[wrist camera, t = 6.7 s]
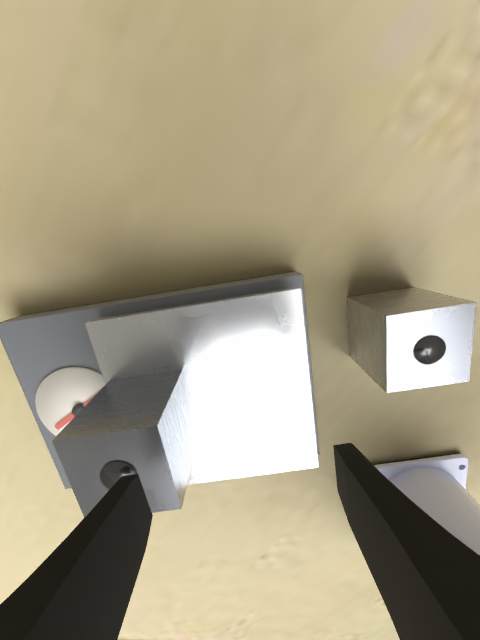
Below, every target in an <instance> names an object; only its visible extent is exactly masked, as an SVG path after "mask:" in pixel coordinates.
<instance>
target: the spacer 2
mask: <svg viewBox="0 0 480 640" xmlns="http://www.w3.org/2000/svg"><path fill="white" fill-rule="evenodd" d="M347 307H348V327H349V348H350V357H351V358H352V359H353V360H354V361H355V362H356V363H357V364H358V365H359V366H360V367H361V368H362V369H363V370H364V371H365V372H366V373H367V374H368V375H369V376H370V377H371V378H372V379H373V380H374V381H375V382H376V383H377V384H378V385H379V386H380V387H381V388H382V389H383V390H384V391H385V392H386V393H391V392H398V391H405V390H412V389H419V388H426V387H433V386H440V385H448V384H455V383H462V382H469V378H470V367H471V356H472V345H473V334H474V323H475V311H476V302H473V301H468V300H464V299H460V298H456V297H452V296H448V295H443V294H439V293H435V292H431V291H427V290H423V289H418V288H414V287H410V288H403V289H397V290H390V291H384V292H377V293H371V294H365V295H358V296H352V297H347Z"/></svg>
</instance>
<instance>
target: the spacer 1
mask: <svg viewBox="0 0 480 640" xmlns="http://www.w3.org/2000/svg"><path fill="white" fill-rule="evenodd" d="M197 435H198V430H197V426H196V422H195V418H194V414H193V409H192V405H191V401H190V397H189V393H188V389H187V385H186V381H185V377H184V372H183V369H180V370H174V371H167V372H161V373H154V374H147V375H141V376H134V377H128V378H121V379H114V380H109V381H108V382H107V383H106V385H105V386H104V387H103V388H102V389H101V390H100V391H99V392H98V393H97V394H96V395H95V396H94V397H93V398H92V399H91V400H90V401H89V402H88V403H87V404H86V405H85V407H84V408H83V409H82V410H81V411H80V412H79V413H78V414H77V415H76V416H75V417H74V418H73V419H72V420H71V421H70V422H69V423H68V424H67V425H66V426H65V427H64V429H63V430H62V431H61V432H60V433H59V434H58V435H57V436H56V437H55V438H54V439H53V440H52V443H53V445H54V447H55V450H56V452H57V454H58V457H59V459H60V461H61V464H62V466H63V468H64V471H65V473H66V475H67V478H68V480H69V482H70V485H71V487H72V489H73V492H74V494H75V496H76V499H77V501H78V503H79V506H80V508H81V510H82V513H83V515H84V517H86V516H87V515H88V513H89V512H90V511H91V510H92V509H93V508H94V507H95V506H96V504H97V503H98V502H99V501H100V500H101V499H102V498H103V497H104V495H105V494H106V493H107V492H108V491H109V490H110V489H111V488H112V486H113V485H114V484H115V483H116V482H117V481H118V480H119V479H120V478H121V477H122V476H125V475H132V474H138V475H139V478H140V481H141V483H142V486H143V489H144V492H145V495H146V498H147V501H148V504H149V507H150V509H151V512H152V513H153V512H160V511H168V510H176V509H182V504H183V499H184V495H185V490H186V486H187V481H188V476H189V472H190V467H191V462H192V458H193V453H194V448H195V444H196V439H197Z"/></svg>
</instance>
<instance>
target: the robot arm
mask: <svg viewBox="0 0 480 640" xmlns="http://www.w3.org/2000/svg"><path fill="white" fill-rule="evenodd" d="M334 456H335V467H336V477H337V488H338V493H339V496H340V498H341V501H342V504H343V507H344V510H345V513H346V516H347V519H348V522H349V524H350V527H351V529H352V531H353V533H354V536H355V538H356V540H357V542H358V545H359V547H360V549H361V551H362V554H363V556H364V558H365V560H366V562H367V565H368V567H369V569H370V571H371V574H372V576H373V578H374V580H375V582H376V585H377V587H378V589H379V591H380V594H381V596H382V598H383V600H384V602H385V605H386V607H387V609H388V611H389V614H390V616H391V619H392V621H393V623H394V626H395V628H396V631H397V633H398V636H399V638H400V640H480V505H479V503H478V502H477V501H476V500H475V499H474V498H473V497H472V496H471V495H470V494H469V493H468V492H467V491H466V481H467V470H468V458H467V457H466V456H464V455H463V454H454V455H447V456H439V457H432V458H424V459H417V460H409V461H402V462H394V463H386V464H379V465H373V464H372V463H371V462H370V461H369V460H368V459H367V458H366V457H365V456H364V455H363V454H362V453H361V452H360V451H359V450H358V449H357V448H356V447H355V446H354V445H353V444H351V443H347V444H340V445H334ZM152 516H153V515H152V512H151V509H150V507H149V504H148V501H147V498H146V495H145V492H144V489H143V486H142V483H141V481H140V478H139V475H138V474H132V475H125V476H122V477H121V478H120V479H119V480H118V481H117V482H116V483H115V484H114V485H113V486H112V488H111V489H110V490H109V491H108V492H107V493H106V494H105V495H104V497H103V498H102V499H101V500H100V501H99V502H98V503H97V504H96V506H95V507H94V508H93V509H92V510H91V511H90V512H89V513H88V515H87V516H86V517H85V518H84V519H83V520H82V521H81V522H80V523H79V525H78V526H77V527H76V528H75V529H74V530H73V531H72V532H71V533H70V535H69V536H68V537H67V538H66V539H65V540H64V541H63V542H62V543H61V544H60V545H59V546H58V547H57V548H56V549H55V550H54V551H53V552H52V554H51V555H50V556H49V557H48V558H47V559H46V560H45V561H44V562H43V563H42V564H41V565H40V566H39V567H38V568H37V569H36V570H35V571H34V572H33V573H32V574H31V575H30V576H29V577H28V578H27V579H26V580H25V581H24V582H23V583H22V584H21V585H20V586H19V587H18V588H17V589H16V590H15V591H14V592H13V593H12V594H11V595H10V596H9V597H8V598H7V599H6V600H5V601H4V602H3V603H2V604H1V605H0V640H117V638H118V635H119V632H120V629H121V626H122V623H123V620H124V617H125V613H126V610H127V607H128V604H129V601H130V598H131V595H132V591H133V588H134V585H135V582H136V579H137V576H138V573H139V569H140V566H141V563H142V560H143V556H144V553H145V550H146V545H147V541H148V536H149V531H150V526H151V521H152Z"/></svg>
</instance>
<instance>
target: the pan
mask: <svg viewBox="0 0 480 640" xmlns="http://www.w3.org/2000/svg"><path fill="white" fill-rule="evenodd" d="M85 325H86V328H87V331H88V334H89V337H90V340H91V343H92V346H93V349H94V352H95V355H96V358H97V361H98V364H99V367H100V370H101V373H102V376H103V379H104V382H105V385H106V383H107V382H108V381H109V380H114V379H121V378H128V377H134V376H141V375H147V374H154V373H161V372H167V371H174V370H180V369H183V372H184V377H185V381H186V385H187V389H188V393H189V397H190V401H191V405H192V409H193V414H194V418H195V422H196V426H197V430H198V435H197V439H196V444H195V448H194V453H193V458H192V462H191V467H190V472H189V476H188V481H187V485H190V484H198V483H205V482H213V481H220V480H228V479H235V478H243V477H250V476H258V475H265V474H273V473H280V472H288V471H295V470H303V469H310V468H318V458H317V448H316V438H315V427H314V417H313V407H312V396H311V386H310V376H309V366H308V355H307V345H306V335H305V325H304V314H303V304H302V294H301V288H300V287H294V288H288V289H282V290H275V291H269V292H263V293H257V294H250V295H244V296H238V297H231V298H225V299H219V300H213V301H206V302H200V303H194V304H188V305H181V306H175V307H169V308H162V309H156V310H150V311H144V312H137V313H131V314H125V315H118V316H112V317H106V318H100V319H93V320H89V321H87V322H85Z"/></svg>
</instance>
